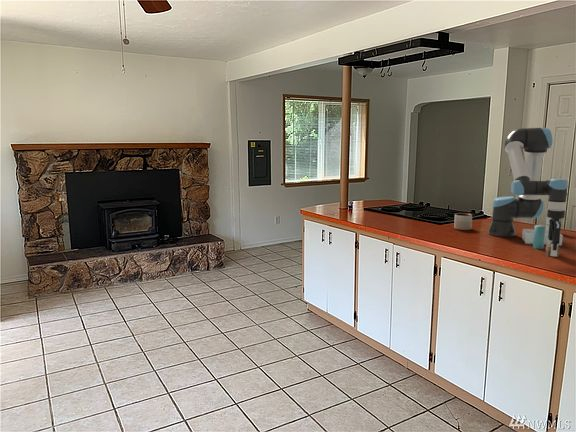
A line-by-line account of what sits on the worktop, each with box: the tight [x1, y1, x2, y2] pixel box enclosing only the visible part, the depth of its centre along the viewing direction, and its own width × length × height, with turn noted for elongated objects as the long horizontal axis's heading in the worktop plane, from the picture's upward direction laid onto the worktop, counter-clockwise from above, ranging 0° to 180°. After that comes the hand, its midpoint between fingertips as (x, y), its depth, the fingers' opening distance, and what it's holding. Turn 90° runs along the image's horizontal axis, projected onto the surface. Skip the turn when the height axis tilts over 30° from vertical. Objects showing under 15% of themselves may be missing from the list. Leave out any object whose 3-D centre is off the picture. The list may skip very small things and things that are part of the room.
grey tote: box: [521, 228, 564, 247], centre depth 246 cm, size 18×14×6 cm
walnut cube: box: [545, 244, 561, 258], centre depth 219 cm, size 5×5×5 cm
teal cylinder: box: [532, 224, 546, 250], centre depth 233 cm, size 5×5×12 cm
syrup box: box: [545, 216, 562, 230], centre depth 267 cm, size 6×6×14 cm
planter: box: [453, 212, 473, 231], centre depth 285 cm, size 11×11×10 cm
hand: (552, 254), depth 220 cm, fingers open, 6 cm apart
